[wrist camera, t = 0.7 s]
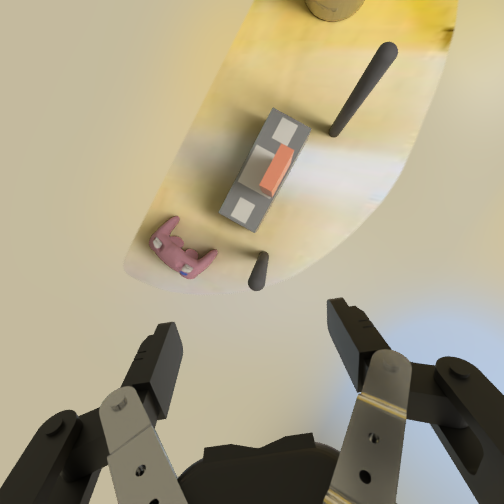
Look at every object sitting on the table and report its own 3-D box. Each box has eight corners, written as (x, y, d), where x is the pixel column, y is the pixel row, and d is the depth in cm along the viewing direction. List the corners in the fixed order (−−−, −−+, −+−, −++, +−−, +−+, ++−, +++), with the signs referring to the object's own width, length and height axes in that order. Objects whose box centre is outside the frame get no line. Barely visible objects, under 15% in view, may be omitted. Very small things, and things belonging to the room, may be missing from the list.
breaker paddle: (279, 159, 34) (281, 143, 27) (290, 164, 34) (294, 150, 27) (261, 192, 35) (259, 184, 28) (272, 197, 35) (271, 191, 28)
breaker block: (272, 121, 39) (271, 106, 34) (306, 140, 39) (311, 128, 34) (224, 213, 41) (217, 212, 36) (256, 231, 41) (254, 232, 36)
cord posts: (332, 124, 38) (384, 38, 20) (341, 129, 38) (401, 47, 20) (257, 258, 41) (245, 285, 24) (265, 262, 41) (259, 294, 24)
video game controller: (167, 230, 44) (137, 247, 38) (176, 211, 41) (146, 227, 35) (210, 267, 44) (186, 289, 38) (222, 251, 41) (199, 272, 36)
